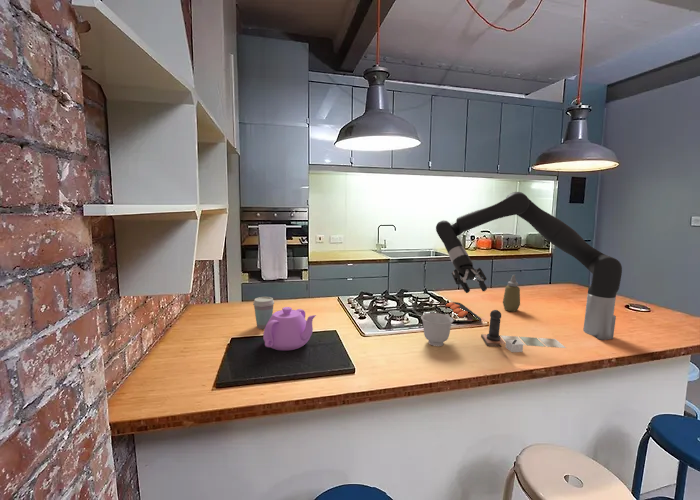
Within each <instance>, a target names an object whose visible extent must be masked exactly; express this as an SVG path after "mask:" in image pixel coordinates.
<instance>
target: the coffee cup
mask: <svg viewBox="0 0 700 500" xmlns="http://www.w3.org/2000/svg"><path fill="white" fill-rule="evenodd" d="M274 304H275V301H274V298H273V297H271V296H260V297H256V298H254V300H253V304H252V305H253V308H254V315H255V323H256V328H257V329H259V330H264V329H265V327H266V324H267V322H268V321H269V319H270V317H271V316H272V315H273V313H274V312H273V311H274Z"/></svg>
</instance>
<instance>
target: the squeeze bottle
mask: <svg viewBox="0 0 700 500" xmlns="http://www.w3.org/2000/svg"><path fill="white" fill-rule="evenodd" d="M502 305H503V309H504V310H506V311H508V312H517V311H518V310H519V308H520V306H521V288H520V287H519V282H518V281H517V279H516V275H515V274H512V276H511V278H510V281H507V285H505V288H504V294H503V298H502Z"/></svg>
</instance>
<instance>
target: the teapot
mask: <svg viewBox="0 0 700 500" xmlns="http://www.w3.org/2000/svg"><path fill="white" fill-rule="evenodd" d="M316 317H317V315H309V316H308V317H307V319H306V311H305V310H304V309H302V308H298V309H293V308H292V307H290V306H285V307H282V309H281V310H278V311H277V310H276V311H275V312H273V314H272V316H271V317H270V319H269V321H268V322H267V324H266V327H265V329H263V335H262V336H263V337H262V338H263V341H264V346H265V348H271V349H273V350H277V351H293V350H297V349H300V348H302V347H304V345H306V344H307V343H308V341H309V340H310V339H311V336H312V334H313V331H314V328H313V320H314V318H316Z"/></svg>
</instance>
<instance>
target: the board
mask: <svg viewBox="0 0 700 500" xmlns="http://www.w3.org/2000/svg"><path fill="white" fill-rule="evenodd" d="M499 336H500V341H491V340H489V339H487V334H483V333H482V334H480V338H481V339H482V340H483V342H484V344H485V345H486V346H487V347H495V348H496V347H498V348H502V347H503V346H502V345H506V340H517V341H519V342H521V343H522V344H523V346H531V347H542V348H543V347H547V348H560V349H561V348H562V349H567V347H566V346H564V344H562V343H561V342H560V341H559V340H557V339H556V338H547V337H546V338H545V337H531V336H530V337H529V336H528V337H527V336H517V335H516V336H515V335H514V336H513V335H500V334H499Z"/></svg>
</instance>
